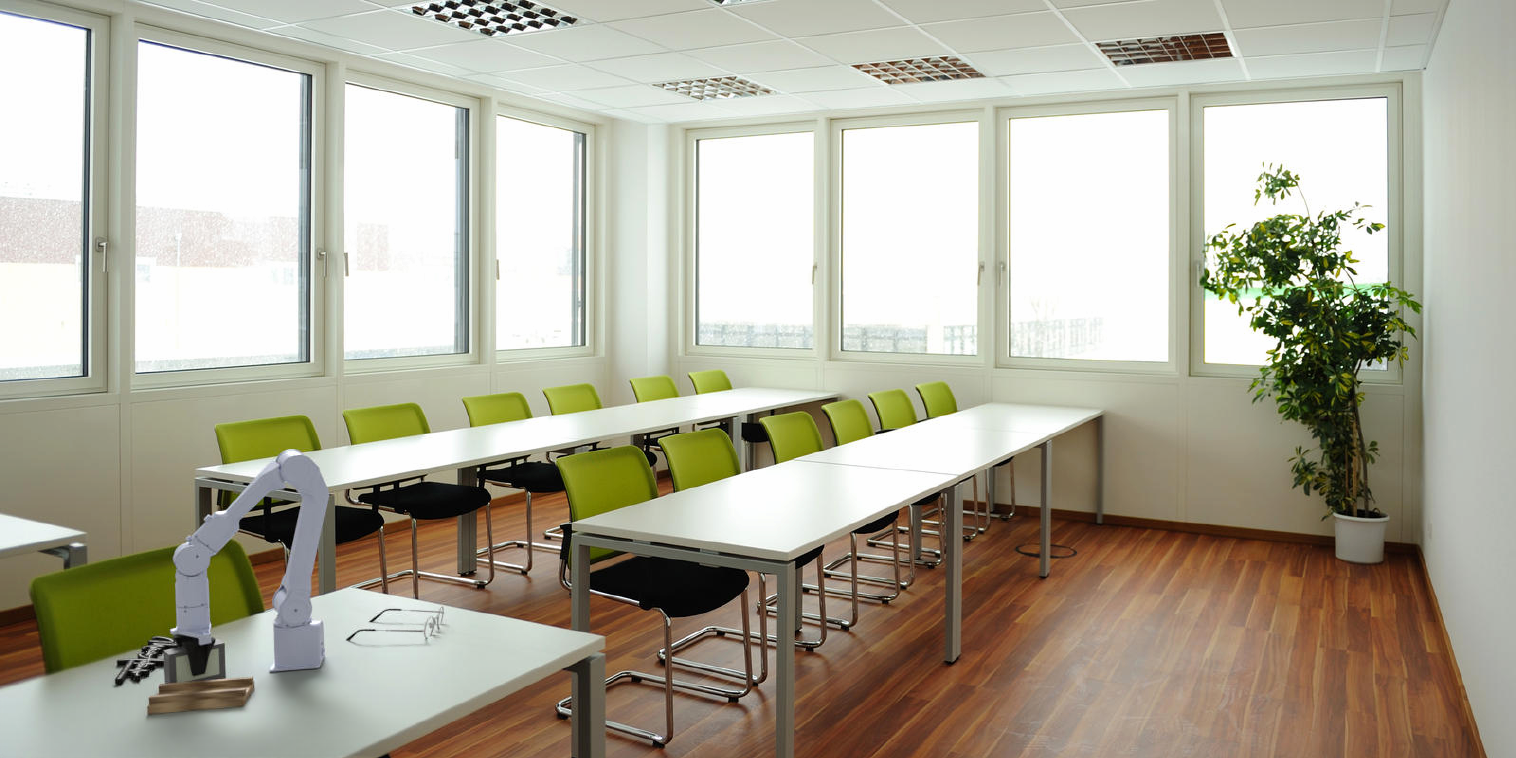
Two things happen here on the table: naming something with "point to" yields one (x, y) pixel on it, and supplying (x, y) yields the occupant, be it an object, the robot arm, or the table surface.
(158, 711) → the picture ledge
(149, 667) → the nameplate
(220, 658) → the grey block
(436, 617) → the eyeglasses
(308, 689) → the table surface
